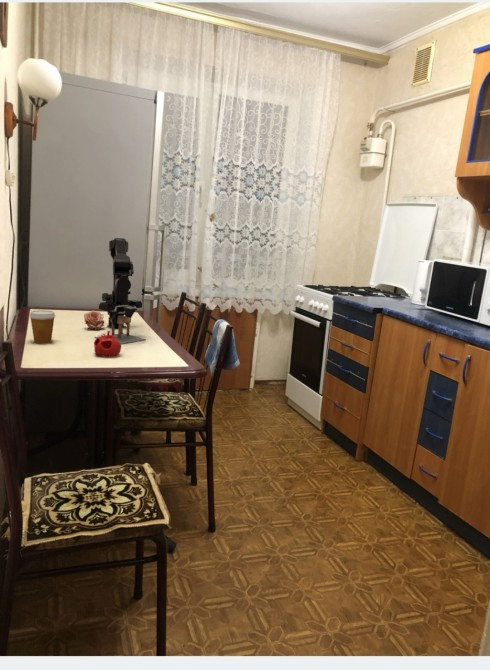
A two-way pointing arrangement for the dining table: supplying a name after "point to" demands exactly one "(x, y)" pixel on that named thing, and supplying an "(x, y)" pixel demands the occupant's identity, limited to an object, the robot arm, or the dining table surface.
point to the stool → (120, 328)
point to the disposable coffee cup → (42, 325)
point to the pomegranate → (107, 345)
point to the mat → (127, 338)
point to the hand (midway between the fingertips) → (120, 325)
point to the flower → (94, 319)
